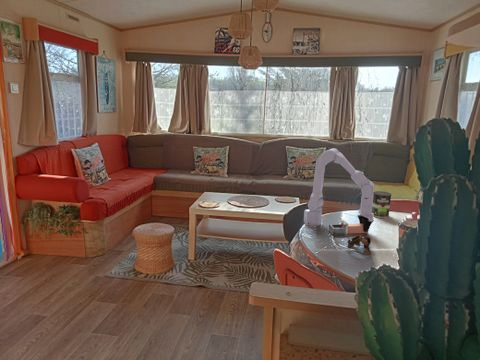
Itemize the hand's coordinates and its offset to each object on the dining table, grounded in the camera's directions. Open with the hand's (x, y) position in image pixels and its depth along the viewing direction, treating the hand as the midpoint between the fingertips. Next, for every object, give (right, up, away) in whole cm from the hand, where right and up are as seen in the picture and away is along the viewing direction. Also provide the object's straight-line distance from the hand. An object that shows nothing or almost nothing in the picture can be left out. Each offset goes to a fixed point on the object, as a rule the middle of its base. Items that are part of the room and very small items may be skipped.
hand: (364, 230), depth 185 cm
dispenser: (-8, -2, 0) cm, 9 cm away
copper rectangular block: (-5, -1, 0) cm, 5 cm away
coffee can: (+21, +4, +32) cm, 39 cm away
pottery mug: (-9, -7, -20) cm, 23 cm away
